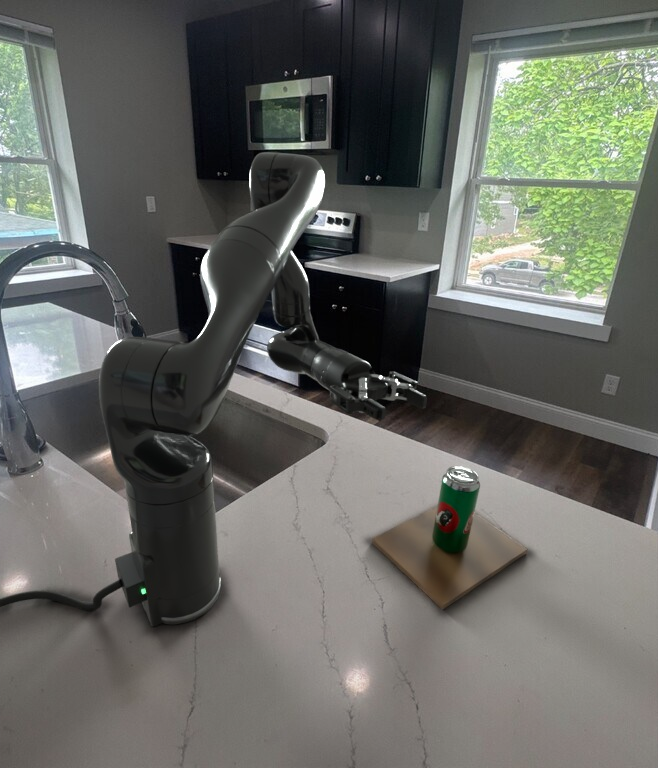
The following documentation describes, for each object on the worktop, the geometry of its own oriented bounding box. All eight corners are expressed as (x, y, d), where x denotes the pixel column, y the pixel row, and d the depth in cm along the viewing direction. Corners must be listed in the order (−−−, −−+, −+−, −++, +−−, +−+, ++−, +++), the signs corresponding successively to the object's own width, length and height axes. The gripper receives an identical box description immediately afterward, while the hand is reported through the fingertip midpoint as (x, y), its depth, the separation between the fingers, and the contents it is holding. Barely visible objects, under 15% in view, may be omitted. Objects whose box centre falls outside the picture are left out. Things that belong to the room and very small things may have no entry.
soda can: (467, 558, 66) (483, 488, 61) (431, 552, 66) (443, 482, 62) (465, 534, 70) (479, 467, 65) (431, 528, 71) (443, 461, 66)
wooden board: (442, 610, 58) (443, 605, 58) (371, 542, 69) (371, 538, 68) (526, 553, 68) (527, 549, 68) (453, 501, 79) (454, 498, 78)
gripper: (308, 359, 77) (371, 395, 65) (374, 347, 85) (441, 377, 73) (306, 400, 80) (366, 442, 68) (370, 385, 87) (434, 420, 76)
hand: (405, 408), depth 70 cm, fingers open, 8 cm apart
